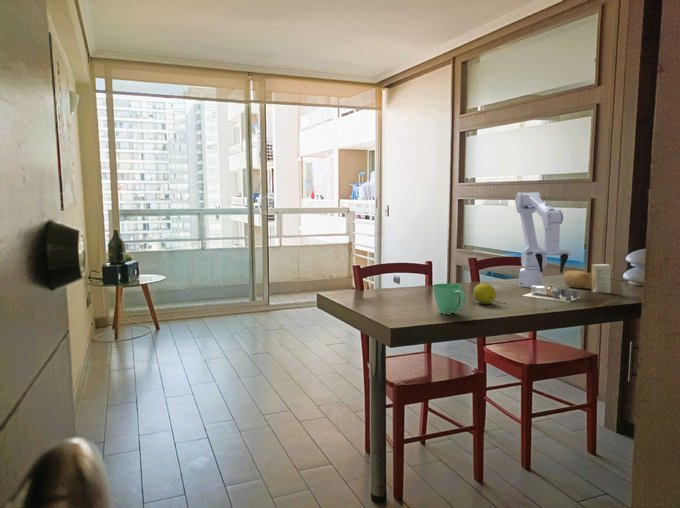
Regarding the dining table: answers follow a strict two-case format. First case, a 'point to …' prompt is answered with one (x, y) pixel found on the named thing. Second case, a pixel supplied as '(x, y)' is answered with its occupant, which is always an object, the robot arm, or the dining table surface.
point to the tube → (543, 290)
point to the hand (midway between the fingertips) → (551, 272)
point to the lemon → (484, 293)
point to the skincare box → (601, 278)
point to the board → (549, 297)
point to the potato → (577, 279)
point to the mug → (449, 297)
